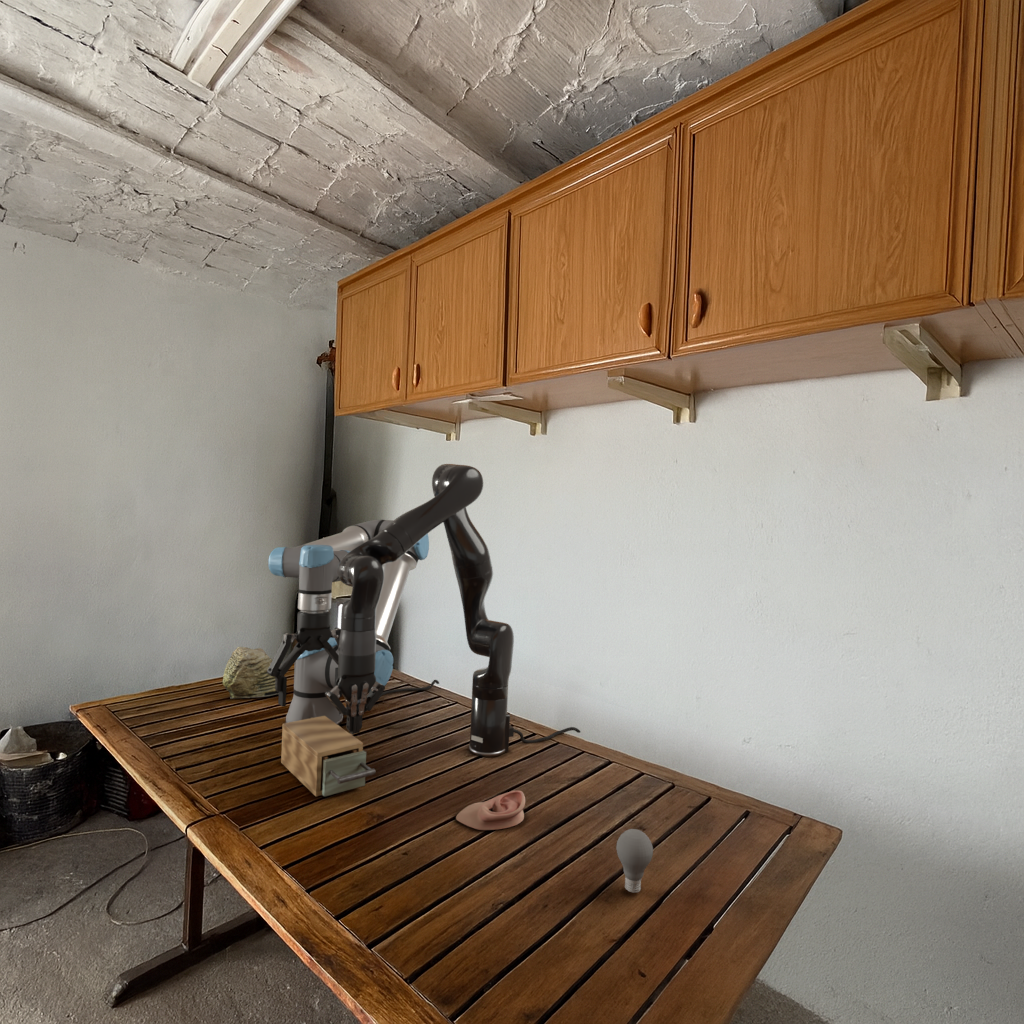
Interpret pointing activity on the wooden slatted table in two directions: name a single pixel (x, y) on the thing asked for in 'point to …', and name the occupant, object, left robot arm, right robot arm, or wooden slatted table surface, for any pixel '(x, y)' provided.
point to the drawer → (344, 771)
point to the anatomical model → (495, 812)
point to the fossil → (249, 674)
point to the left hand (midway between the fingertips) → (310, 700)
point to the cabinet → (313, 748)
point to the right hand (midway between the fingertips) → (354, 732)
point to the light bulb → (634, 857)
